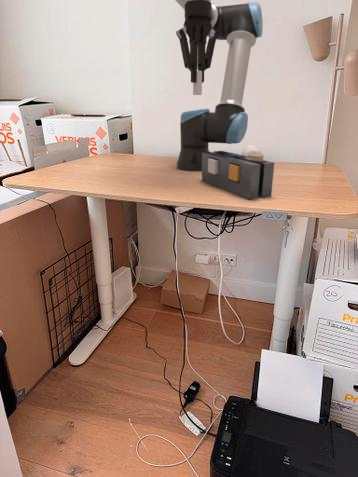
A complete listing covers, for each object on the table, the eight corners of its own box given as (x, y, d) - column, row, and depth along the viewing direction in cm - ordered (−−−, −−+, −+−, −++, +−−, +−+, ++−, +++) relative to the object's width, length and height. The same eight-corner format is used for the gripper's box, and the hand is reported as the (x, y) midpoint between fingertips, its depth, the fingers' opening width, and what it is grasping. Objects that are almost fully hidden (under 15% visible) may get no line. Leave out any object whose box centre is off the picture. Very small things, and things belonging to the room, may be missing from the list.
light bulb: (255, 175, 128) (257, 145, 123) (238, 174, 130) (239, 145, 126) (259, 172, 133) (262, 143, 129) (243, 170, 136) (245, 142, 132)
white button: (214, 174, 110) (215, 160, 108) (207, 172, 114) (208, 158, 112) (226, 173, 112) (226, 159, 110) (218, 170, 115) (219, 157, 114)
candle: (262, 177, 124) (264, 150, 120) (260, 180, 119) (263, 152, 115) (247, 176, 126) (249, 149, 122) (245, 179, 121) (246, 151, 117)
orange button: (236, 181, 100) (237, 166, 98) (228, 178, 104) (229, 164, 102) (248, 180, 102) (249, 165, 100) (240, 177, 105) (241, 163, 104)
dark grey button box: (249, 200, 97) (251, 164, 93) (201, 180, 120) (202, 151, 117) (271, 196, 100) (274, 162, 96) (220, 178, 124) (221, 150, 120)
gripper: (183, -5, 87) (183, 94, 96) (225, 1, 92) (222, 94, 101) (171, 2, 93) (172, 95, 102) (211, 7, 98) (209, 94, 107)
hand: (197, 94), depth 102 cm, fingers closed
